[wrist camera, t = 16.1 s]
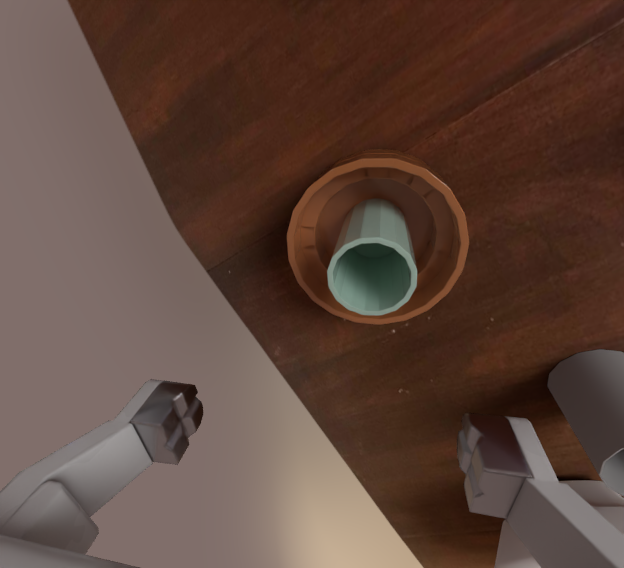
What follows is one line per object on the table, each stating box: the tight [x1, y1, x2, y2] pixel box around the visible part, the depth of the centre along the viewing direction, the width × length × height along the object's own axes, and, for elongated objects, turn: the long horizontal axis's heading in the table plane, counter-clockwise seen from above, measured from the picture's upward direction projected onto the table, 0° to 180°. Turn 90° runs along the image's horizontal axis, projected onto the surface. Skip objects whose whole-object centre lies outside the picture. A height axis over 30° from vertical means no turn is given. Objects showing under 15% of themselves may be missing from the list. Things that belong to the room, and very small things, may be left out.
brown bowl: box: [287, 149, 469, 325], centre depth 28 cm, size 14×14×6 cm
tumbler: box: [327, 199, 417, 316], centre depth 26 cm, size 6×6×10 cm
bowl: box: [494, 480, 624, 568], centre depth 39 cm, size 22×22×12 cm
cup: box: [547, 349, 624, 496], centre depth 30 cm, size 8×8×10 cm
